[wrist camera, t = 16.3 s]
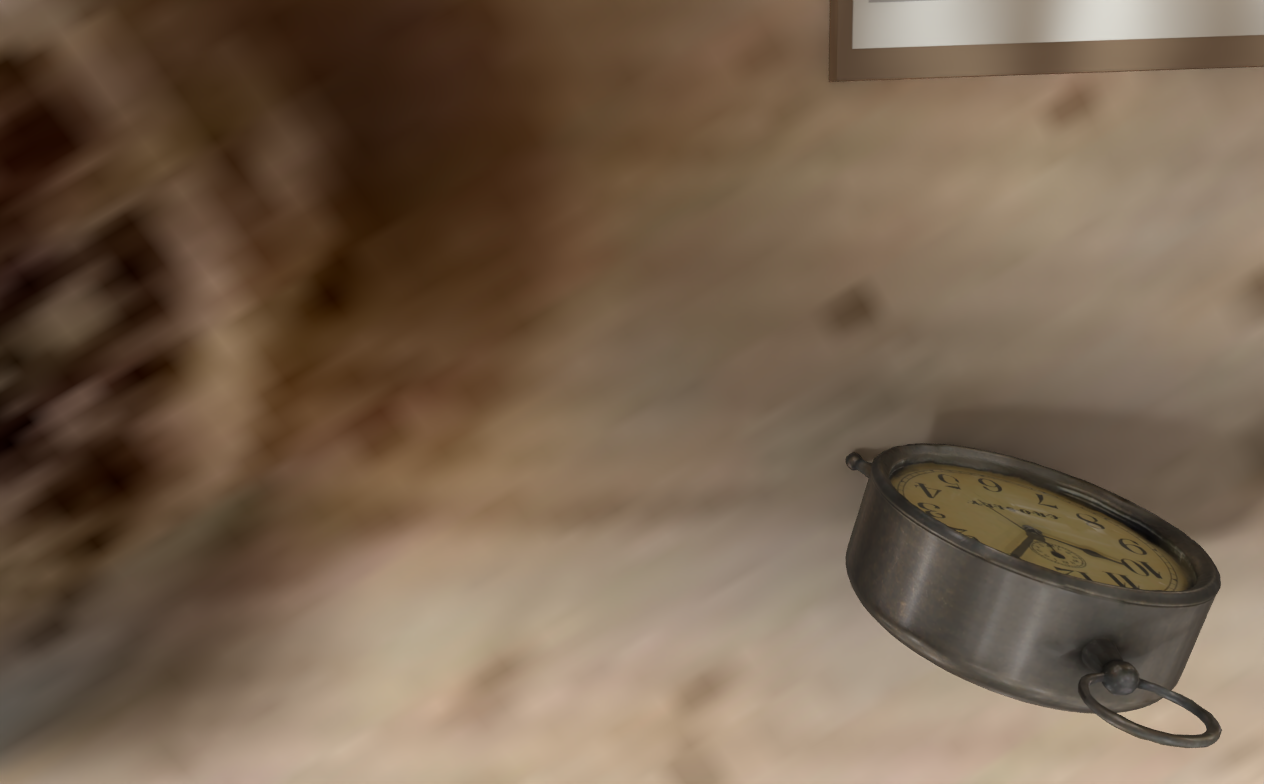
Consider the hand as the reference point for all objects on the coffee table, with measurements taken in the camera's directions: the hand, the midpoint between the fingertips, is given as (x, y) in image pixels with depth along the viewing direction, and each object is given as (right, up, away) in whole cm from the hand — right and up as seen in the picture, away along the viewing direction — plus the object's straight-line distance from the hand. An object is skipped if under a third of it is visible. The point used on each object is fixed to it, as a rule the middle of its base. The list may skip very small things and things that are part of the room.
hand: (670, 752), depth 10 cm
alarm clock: (+12, -1, +31) cm, 33 cm away
